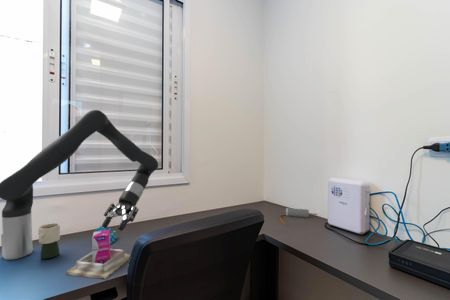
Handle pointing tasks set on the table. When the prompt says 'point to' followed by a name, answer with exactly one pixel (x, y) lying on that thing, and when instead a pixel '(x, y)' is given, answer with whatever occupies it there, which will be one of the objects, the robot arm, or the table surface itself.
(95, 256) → the supplement box
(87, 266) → the plate
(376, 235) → the table surface
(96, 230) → the gear
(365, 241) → the table surface
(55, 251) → the character mug
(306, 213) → the motor
